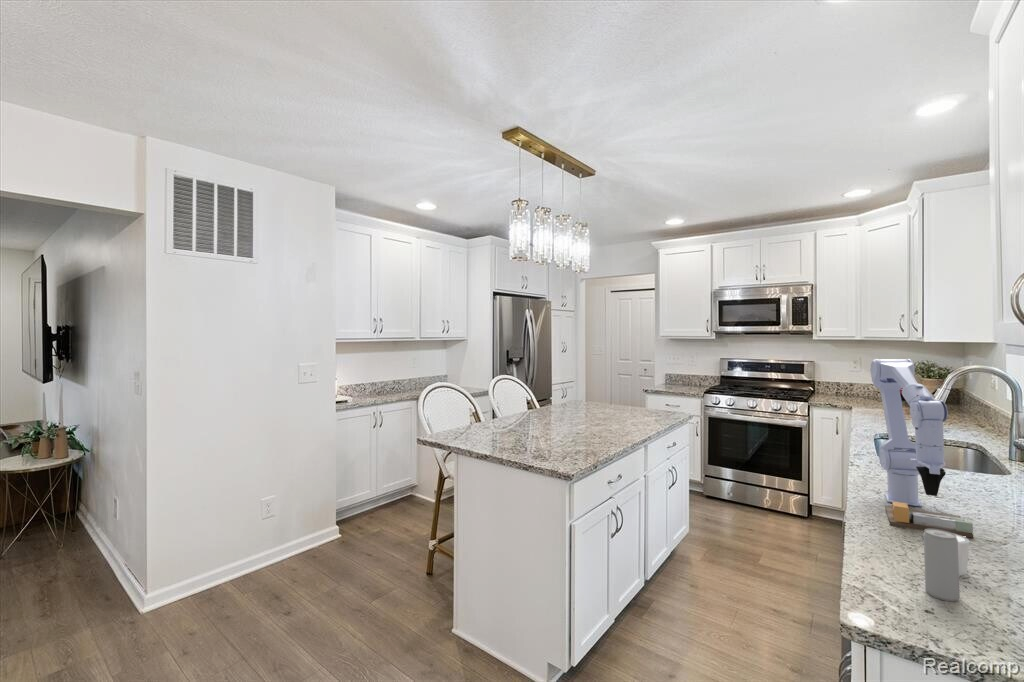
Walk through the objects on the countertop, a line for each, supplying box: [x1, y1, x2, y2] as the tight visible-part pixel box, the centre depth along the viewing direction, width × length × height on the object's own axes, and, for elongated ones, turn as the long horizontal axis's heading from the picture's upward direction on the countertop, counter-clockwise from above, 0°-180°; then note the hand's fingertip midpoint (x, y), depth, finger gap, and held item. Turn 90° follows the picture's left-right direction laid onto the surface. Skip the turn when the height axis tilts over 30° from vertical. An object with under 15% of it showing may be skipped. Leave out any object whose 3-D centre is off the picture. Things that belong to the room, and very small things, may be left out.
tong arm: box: [913, 512, 966, 521], centre depth 120 cm, size 2×10×2 cm, turn 59°
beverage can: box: [923, 529, 961, 603], centre depth 88 cm, size 5×5×12 cm
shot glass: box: [953, 533, 971, 576], centre depth 99 cm, size 7×7×7 cm
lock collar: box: [891, 501, 910, 523], centre depth 123 cm, size 4×3×4 cm
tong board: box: [884, 504, 974, 539], centre depth 124 cm, size 15×16×3 cm
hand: (931, 494), depth 124 cm, fingers closed
